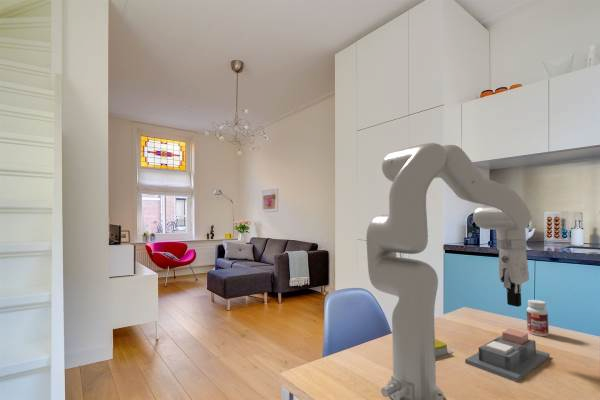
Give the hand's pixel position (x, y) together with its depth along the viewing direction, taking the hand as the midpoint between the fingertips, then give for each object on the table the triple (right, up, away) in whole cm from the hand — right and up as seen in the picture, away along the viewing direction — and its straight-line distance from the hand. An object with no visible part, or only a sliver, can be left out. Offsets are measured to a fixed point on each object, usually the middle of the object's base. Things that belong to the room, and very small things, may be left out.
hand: (514, 305), depth 96 cm
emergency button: (-27, -16, +2) cm, 31 cm away
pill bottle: (+20, -16, +17) cm, 30 cm away
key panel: (-5, -15, -4) cm, 16 cm away
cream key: (-9, -12, -7) cm, 17 cm away
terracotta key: (0, -11, -1) cm, 11 cm away
